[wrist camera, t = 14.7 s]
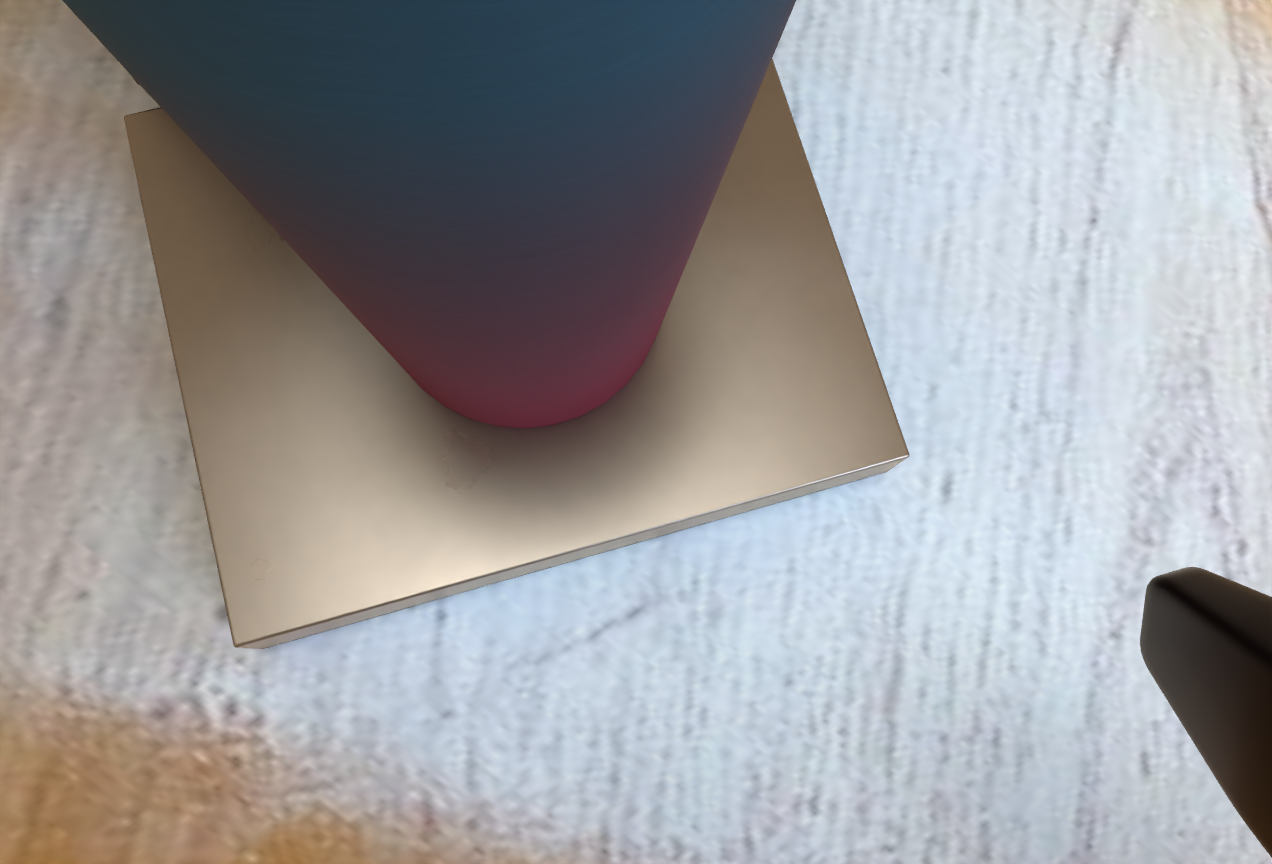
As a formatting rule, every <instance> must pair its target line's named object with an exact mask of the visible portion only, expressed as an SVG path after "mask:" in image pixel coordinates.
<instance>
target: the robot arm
mask: <svg viewBox="0 0 1272 864" xmlns="http://www.w3.org/2000/svg"><path fill="white" fill-rule="evenodd" d="M1140 647H1141V653H1142V656H1143V659H1144V661H1145V664H1146V666H1147V668H1148V670H1149V671H1150V673H1151V675H1152V676H1153V678H1154V679H1155V681H1156V683H1157V684H1158V686H1159V687H1160V689H1161V691H1162V692H1163V694H1164V696H1165V697H1166V699H1167V700H1168V702H1169V704H1170V705H1171V707H1172V708H1173V710H1174V712H1175V713H1176V715H1177V716H1178V718H1179V720H1180V721H1181V723H1182V725H1183V726H1184V728H1185V729H1186V731H1187V733H1188V734H1189V736H1190V737H1191V739H1192V741H1193V742H1194V744H1195V746H1196V747H1197V749H1198V750H1199V752H1200V754H1201V755H1202V757H1203V758H1204V760H1205V762H1206V763H1207V765H1208V766H1209V768H1210V770H1211V771H1212V773H1213V775H1214V776H1215V778H1216V779H1217V781H1218V783H1219V784H1220V786H1221V787H1222V789H1223V791H1224V792H1225V794H1226V795H1227V797H1228V798H1229V800H1230V801H1231V803H1232V804H1233V806H1234V807H1235V809H1236V810H1237V812H1238V813H1239V815H1240V816H1241V817H1242V819H1243V820H1244V821H1245V823H1246V824H1247V825H1248V827H1249V828H1250V830H1251V831H1252V832H1253V834H1254V835H1255V836H1256V838H1257V839H1258V840H1259V842H1260V843H1261V844H1262V845H1263V847H1264V848H1265V849H1266V851H1267V852H1268V853H1269V855H1270V856H1271V857H1272V597H1270V596H1268V595H1265V594H1263V593H1260V592H1258V591H1256V590H1253V589H1251V588H1248V587H1246V586H1243V585H1241V584H1239V583H1236V582H1234V581H1231V580H1229V579H1226V578H1224V577H1222V576H1219V575H1217V574H1214V573H1212V572H1209V571H1207V570H1204V569H1201V568H1197V567H1187V568H1183V569H1179V570H1176V571H1173V572H1169V573H1166V574H1163V575H1159V576H1156V577H1155V578H1153V579H1152V580H1151V581H1150V583H1149V584H1148V585H1147V589H1146V595H1145V603H1144V611H1143V620H1142V628H1141V636H1140Z"/></svg>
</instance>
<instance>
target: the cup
mask: <svg viewBox="0 0 1272 864" xmlns="http://www.w3.org/2000/svg"><path fill="white" fill-rule="evenodd" d="M62 1H63V2H64V3H65V4H66V5H67V6H68V7H69V8H70V9H71V10H72V11H73V12H74V14H75V15H76V16H77V17H78V18H79V19H80V20H81V21H82V22H83V23H84V24H85V25H86V26H87V28H88V29H89V30H90V31H91V32H92V33H93V34H94V35H95V36H96V37H97V38H98V39H99V41H100V42H101V43H102V44H103V45H104V46H105V47H106V48H107V49H108V50H109V51H110V52H111V53H112V55H113V56H114V57H115V58H116V59H117V60H118V61H119V62H120V63H121V64H122V65H123V66H124V68H125V69H126V70H127V71H128V72H129V73H130V74H131V75H132V76H133V77H134V78H135V79H136V80H137V82H138V83H139V84H140V85H141V86H142V87H143V88H144V89H145V90H146V91H147V92H148V93H149V95H150V96H151V97H152V98H153V99H154V100H155V101H156V102H157V103H158V104H159V105H160V106H161V107H162V109H163V110H164V111H165V112H166V113H167V114H168V115H169V116H170V117H171V118H172V119H173V120H174V121H175V123H176V124H177V125H178V126H179V127H180V128H181V129H182V130H183V131H184V132H185V133H186V134H187V136H188V137H189V138H190V139H191V140H192V141H193V142H194V143H195V144H196V145H197V146H198V147H199V148H200V150H201V151H202V152H203V153H204V154H205V155H206V156H207V157H208V158H209V159H210V160H211V161H212V163H213V164H214V165H215V166H216V167H217V168H218V169H219V170H220V171H221V172H222V173H223V174H224V175H225V177H226V178H227V179H228V180H229V181H230V182H231V183H232V184H233V185H234V186H235V187H236V188H237V190H238V191H239V192H240V193H241V194H242V195H243V196H244V197H245V198H246V199H247V200H248V201H249V202H250V204H251V205H252V206H253V207H254V208H255V209H256V210H257V211H258V212H259V213H260V214H261V215H262V217H263V218H264V219H265V220H266V221H267V222H268V223H269V224H270V225H271V226H272V227H273V228H274V229H275V231H276V232H277V233H278V234H279V235H280V236H281V237H282V238H283V239H284V240H285V241H286V242H287V243H288V245H289V246H290V247H291V248H292V249H293V250H294V251H295V252H296V253H297V254H298V255H299V256H300V258H301V259H302V260H303V261H304V262H305V263H306V264H307V265H308V266H309V267H310V268H311V269H312V270H313V272H314V273H315V274H316V275H317V276H318V277H319V278H320V279H321V280H322V281H323V282H324V283H325V285H326V286H327V287H328V288H329V289H330V290H331V291H332V292H333V293H334V294H335V295H336V296H337V297H338V299H339V300H340V301H341V302H342V303H343V304H344V305H345V306H346V307H347V308H348V309H349V310H350V312H351V313H352V314H353V315H354V316H355V317H356V318H357V319H358V320H359V321H360V322H361V323H362V324H363V326H364V327H365V328H366V329H367V330H368V331H369V332H370V333H371V334H372V335H373V336H374V337H375V339H376V340H377V341H378V342H379V343H380V344H381V345H382V346H383V347H384V348H385V349H386V350H387V351H388V353H389V354H390V355H391V356H392V357H393V358H394V359H395V360H396V361H397V362H398V363H399V364H400V365H401V367H402V368H403V369H404V370H405V371H406V372H407V373H408V374H409V375H410V376H411V377H412V378H413V380H414V381H415V382H416V383H417V384H418V385H419V386H420V387H421V388H422V389H423V390H424V391H425V392H427V393H428V394H429V395H430V396H432V397H433V398H434V399H436V400H437V401H438V402H439V403H441V404H442V405H443V406H445V407H447V408H449V409H451V410H453V411H455V412H457V413H459V414H461V415H463V416H465V417H467V418H469V419H472V420H475V421H479V422H483V423H487V424H490V425H494V426H499V427H513V428H532V427H541V426H549V425H555V424H558V423H561V422H564V421H567V420H570V419H574V418H577V417H580V416H582V415H584V414H585V413H587V412H589V411H591V410H593V409H595V408H596V407H598V406H600V405H602V404H604V403H605V402H606V401H607V400H609V399H610V398H611V397H612V396H613V395H615V394H616V393H617V392H618V391H619V390H621V389H622V388H623V387H624V386H625V385H626V384H627V383H628V382H629V380H630V379H631V378H632V377H633V375H634V374H635V373H636V372H637V370H638V369H639V368H640V367H641V365H642V364H643V362H644V360H645V358H646V356H647V354H648V352H649V350H650V348H651V347H652V345H653V343H654V341H655V338H656V336H657V333H658V331H659V329H660V326H661V324H662V321H663V319H664V317H665V314H666V312H667V309H668V307H669V305H670V302H671V300H672V297H673V295H674V293H675V290H676V288H677V285H678V283H679V281H680V278H681V276H682V273H683V271H684V269H685V266H686V264H687V261H688V259H689V257H690V254H691V252H692V249H693V247H694V244H695V242H696V240H697V237H698V235H699V232H700V230H701V228H702V225H703V223H704V220H705V218H706V216H707V213H708V211H709V208H710V206H711V204H712V201H713V199H714V196H715V194H716V192H717V189H718V187H719V184H720V182H721V180H722V177H723V175H724V172H725V170H726V167H727V165H728V163H729V160H730V158H731V155H732V153H733V151H734V148H735V146H736V143H737V141H738V139H739V136H740V134H741V131H742V129H743V127H744V124H745V122H746V119H747V117H748V115H749V112H750V110H751V107H752V105H753V103H754V100H755V98H756V95H757V93H758V91H759V88H760V86H761V83H762V81H763V78H764V76H765V74H766V71H767V69H768V66H769V64H770V62H771V59H772V57H773V54H774V52H775V50H776V47H777V45H778V42H779V40H780V38H781V35H782V33H783V30H784V28H785V26H786V23H787V21H788V18H789V16H790V14H791V11H792V9H793V6H794V4H795V1H796V0H62Z"/></svg>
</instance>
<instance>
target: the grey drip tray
mask: <svg viewBox="0 0 1272 864" xmlns="http://www.w3.org/2000/svg"><path fill="white" fill-rule="evenodd" d="M124 120H125V125H126V130H127V135H128V139H129V144H130V149H131V154H132V159H133V163H134V168H135V173H136V178H137V183H138V188H139V192H140V197H141V202H142V207H143V212H144V216H145V221H146V226H147V231H148V236H149V240H150V245H151V250H152V255H153V260H154V265H155V269H156V274H157V279H158V284H159V289H160V293H161V298H162V303H163V308H164V313H165V317H166V322H167V327H168V332H169V337H170V342H171V346H172V351H173V356H174V361H175V366H176V370H177V375H178V380H179V385H180V390H181V394H182V399H183V404H184V409H185V414H186V418H187V423H188V428H189V433H190V438H191V443H192V447H193V452H194V457H195V462H196V467H197V471H198V476H199V481H200V486H201V491H202V495H203V500H204V505H205V510H206V515H207V520H208V524H209V529H210V534H211V539H212V544H213V548H214V553H215V558H216V563H217V568H218V572H219V577H220V582H221V587H222V592H223V597H224V601H225V606H226V611H227V616H228V621H229V625H230V630H231V635H232V640H233V645H234V646H235V647H239V648H255V649H264V648H268V647H271V646H275V645H278V644H282V643H285V642H289V641H292V640H296V639H299V638H303V637H307V636H310V635H314V634H317V633H321V632H324V631H328V630H331V629H335V628H338V627H342V626H345V625H349V624H352V623H356V622H359V621H363V620H366V619H370V618H373V617H377V616H381V615H384V614H388V613H391V612H395V611H398V610H402V609H405V608H409V607H412V606H416V605H419V604H423V603H426V602H430V601H433V600H437V599H440V598H444V597H448V596H451V595H455V594H458V593H462V592H465V591H469V590H472V589H476V588H479V587H483V586H486V585H490V584H493V583H497V582H500V581H504V580H507V579H511V578H514V577H518V576H522V575H525V574H529V573H532V572H536V571H539V570H543V569H546V568H550V567H553V566H557V565H560V564H564V563H567V562H571V561H574V560H578V559H581V558H585V557H588V556H592V555H596V554H599V553H603V552H606V551H610V550H613V549H617V548H620V547H624V546H627V545H631V544H634V543H638V542H641V541H645V540H648V539H652V538H655V537H659V536H662V535H666V534H670V533H673V532H677V531H680V530H684V529H687V528H691V527H694V526H698V525H701V524H705V523H708V522H712V521H715V520H719V519H722V518H726V517H729V516H733V515H737V514H740V513H744V512H747V511H751V510H754V509H758V508H761V507H765V506H768V505H772V504H775V503H779V502H782V501H786V500H789V499H793V498H796V497H800V496H803V495H807V494H811V493H814V492H818V491H821V490H825V489H828V488H832V487H835V486H839V485H842V484H846V483H849V482H853V481H856V480H860V479H863V478H867V477H870V476H874V475H877V474H881V473H885V472H887V471H889V470H890V469H892V468H893V467H895V466H896V465H898V464H899V463H900V462H902V461H903V460H905V459H906V458H908V457H909V452H908V449H907V446H906V443H905V440H904V438H903V435H902V432H901V429H900V426H899V423H898V420H897V417H896V414H895V412H894V409H893V406H892V403H891V400H890V397H889V394H888V391H887V388H886V386H885V383H884V380H883V377H882V374H881V371H880V368H879V365H878V362H877V360H876V357H875V354H874V351H873V348H872V345H871V342H870V339H869V336H868V334H867V331H866V328H865V325H864V322H863V319H862V316H861V313H860V310H859V308H858V305H857V302H856V299H855V296H854V293H853V290H852V287H851V284H850V282H849V279H848V276H847V273H846V270H845V267H844V264H843V261H842V258H841V256H840V253H839V250H838V247H837V244H836V241H835V238H834V235H833V232H832V230H831V227H830V224H829V221H828V218H827V215H826V212H825V209H824V206H823V204H822V201H821V198H820V195H819V192H818V189H817V186H816V183H815V180H814V177H813V175H812V172H811V169H810V166H809V163H808V160H807V157H806V154H805V151H804V149H803V146H802V143H801V140H800V137H799V134H798V131H797V128H796V125H795V123H794V120H793V117H792V114H791V111H790V108H789V105H788V102H787V99H786V97H785V94H784V91H783V88H782V85H781V82H780V79H779V76H778V73H777V71H776V68H775V65H774V62H773V59H771V62H770V64H769V66H768V69H767V71H766V74H765V76H764V78H763V81H762V83H761V86H760V88H759V91H758V93H757V95H756V98H755V100H754V103H753V105H752V107H751V110H750V112H749V115H748V117H747V119H746V122H745V124H744V127H743V129H742V131H741V134H740V136H739V139H738V141H737V143H736V146H735V148H734V151H733V153H732V155H731V158H730V160H729V163H728V165H727V167H726V170H725V172H724V175H723V177H722V180H721V182H720V184H719V187H718V189H717V192H716V194H715V196H714V199H713V201H712V204H711V206H710V208H709V211H708V213H707V216H706V218H705V220H704V223H703V225H702V228H701V230H700V232H699V235H698V237H697V240H696V242H695V244H694V247H693V249H692V252H691V254H690V257H689V259H688V261H687V264H686V266H685V269H684V271H683V273H682V276H681V278H680V281H679V283H678V285H677V288H676V290H675V293H674V295H673V297H672V300H671V302H670V305H669V307H668V309H667V312H666V314H665V317H664V319H663V321H662V324H661V326H660V329H659V331H658V333H657V336H656V338H655V341H654V343H653V345H652V347H651V348H650V350H649V352H648V354H647V356H646V358H645V360H644V362H643V364H642V365H641V367H640V368H639V369H638V370H637V372H636V373H635V374H634V375H633V377H632V378H631V379H630V380H629V382H628V383H627V384H626V385H625V386H624V387H623V388H622V389H621V390H619V391H618V392H617V393H616V394H615V395H613V396H612V397H611V398H610V399H609V400H607V401H606V402H605V403H604V404H602V405H600V406H598V407H596V408H595V409H593V410H591V411H589V412H587V413H585V414H584V415H582V416H580V417H577V418H574V419H570V420H567V421H564V422H561V423H558V424H555V425H549V426H541V427H532V428H513V427H499V426H494V425H490V424H487V423H483V422H479V421H475V420H472V419H469V418H467V417H465V416H463V415H461V414H459V413H457V412H455V411H453V410H451V409H449V408H447V407H445V406H443V405H442V404H441V403H439V402H438V401H437V400H436V399H434V398H433V397H432V396H430V395H429V394H428V393H427V392H425V391H424V390H423V389H422V388H421V387H420V386H419V385H418V384H417V383H416V382H415V381H414V380H413V378H412V377H411V376H410V375H409V374H408V373H407V372H406V371H405V370H404V369H403V368H402V367H401V365H400V364H399V363H398V362H397V361H396V360H395V359H394V358H393V357H392V356H391V355H390V354H389V353H388V351H387V350H386V349H385V348H384V347H383V346H382V345H381V344H380V343H379V342H378V341H377V340H376V339H375V337H374V336H373V335H372V334H371V333H370V332H369V331H368V330H367V329H366V328H365V327H364V326H363V324H362V323H361V322H360V321H359V320H358V319H357V318H356V317H355V316H354V315H353V314H352V313H351V312H350V310H349V309H348V308H347V307H346V306H345V305H344V304H343V303H342V302H341V301H340V300H339V299H338V297H337V296H336V295H335V294H334V293H333V292H332V291H331V290H330V289H329V288H328V287H327V286H326V285H325V283H324V282H323V281H322V280H321V279H320V278H319V277H318V276H317V275H316V274H315V273H314V272H313V270H312V269H311V268H310V267H309V266H308V265H307V264H306V263H305V262H304V261H303V260H302V259H301V258H300V256H299V255H298V254H297V253H296V252H295V251H294V250H293V249H292V248H291V247H290V246H289V245H288V243H287V242H286V241H285V240H284V239H283V238H282V237H281V236H280V235H279V234H278V233H277V232H276V231H275V229H274V228H273V227H272V226H271V225H270V224H269V223H268V222H267V221H266V220H265V219H264V218H263V217H262V215H261V214H260V213H259V212H258V211H257V210H256V209H255V208H254V207H253V206H252V205H251V204H250V202H249V201H248V200H247V199H246V198H245V197H244V196H243V195H242V194H241V193H240V192H239V191H238V190H237V188H236V187H235V186H234V185H233V184H232V183H231V182H230V181H229V180H228V179H227V178H226V177H225V175H224V174H223V173H222V172H221V171H220V170H219V169H218V168H217V167H216V166H215V165H214V164H213V163H212V161H211V160H210V159H209V158H208V157H207V156H206V155H205V154H204V153H203V152H202V151H201V150H200V148H199V147H198V146H197V145H196V144H195V143H194V142H193V141H192V140H191V139H190V138H189V137H188V136H187V134H186V133H185V132H184V131H183V130H182V129H181V128H180V127H179V126H178V125H177V124H176V123H175V121H174V120H173V119H172V118H171V117H170V116H169V115H168V114H167V113H166V112H165V111H164V110H163V109H162V107H160V108H156V109H151V110H147V111H143V112H138V113H134V114H130V115H126V116H124Z"/></svg>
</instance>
